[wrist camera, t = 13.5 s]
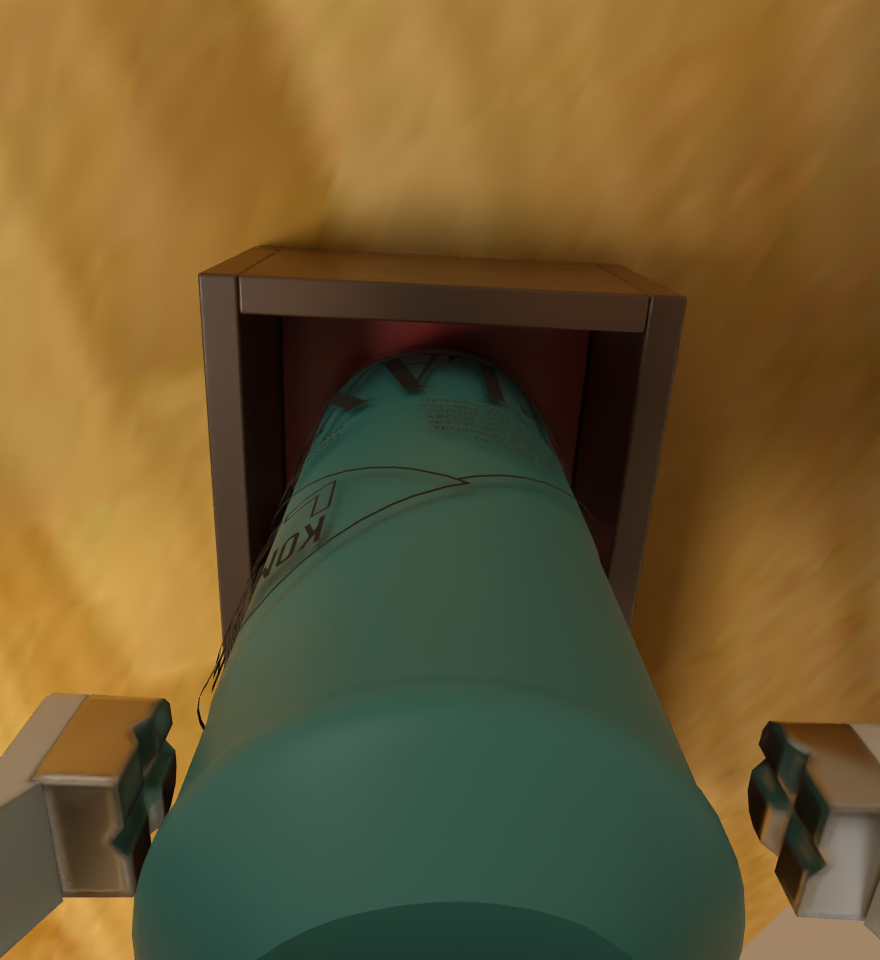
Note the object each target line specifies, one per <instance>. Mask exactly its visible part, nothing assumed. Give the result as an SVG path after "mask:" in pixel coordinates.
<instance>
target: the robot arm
mask: <svg viewBox="0 0 880 960" xmlns="http://www.w3.org/2000/svg"><path fill="white" fill-rule="evenodd" d="M172 724H173V723H172V716H171V709H170V703H169V702H168V701H167V700H165V699H161V698H144V697H127V696H110V695H93V694H92V695H85V694H65V693H54V694H52V695H49V696H47V697H46V698H45V699H44V700H43V701H42V702H41V704H40V705H39V706H38V708H37V709H36V710H35V712H34V713H33V714H32V716H31V717H30V718H29V720H28V721H27V722H26V724H25V725H24V726H23V728H22V729H21V730H20V732H19V733H18V734H17V736H16V737H15V738H14V740H13V741H12V743H11V744H10V745H9V747H8V748H7V749H6V751H5V752H4V753H3V755H2V756H1V757H0V958H1V957H2V956H3V955H4V954H5V953H6V952H8V951H9V950H10V949H11V948H12V947H13V946H14V945H15V944H16V943H17V942H19V941H20V940H21V939H22V938H23V937H24V936H25V935H26V934H27V933H28V932H30V931H31V930H32V929H33V928H34V927H35V926H36V925H37V924H38V923H40V922H41V921H42V920H43V919H44V918H45V917H46V916H47V915H48V914H49V913H51V912H52V911H53V910H54V909H55V908H56V907H57V906H58V905H59V904H60V903H62V902H63V899H62V897H133V896H134V894H135V892H136V888H137V884H138V881H139V877H140V873H141V870H142V866H143V864H144V861H145V859H146V856H147V853H148V851H149V848H150V846H151V839H150V834H151V833H152V832H154V831H155V830H156V829H158V828H159V827H160V825H161V823H162V821H163V819H164V818H165V817H166V815H167V814H168V812H169V809H170V806H171V802H172V798H173V793H174V788H175V784H176V754H175V750H174V749H173V748H172V746H171V745H170V744H169V743H168V742H167V741H166V740H165V739H166V737H167V735H168V733H169V730H170V728H171V726H172ZM759 746H760V748H761V750H762V751H763V753H764V755H765V757H766V759H764V760H763V761H762V762H761V763H760V764H759V765H758V766H756V767H755V768H754V769H753V770H752V773H751V777H750V782H749V787H748V804H749V813H750V817H751V820H752V824H753V827H754V830H755V832H756V834H757V836H758V838H759V840H760V842H761V844H763V845H764V846H765V847H767V848H768V849H769V850H770V851H772V852H773V853H774V854H775V855H777V856H778V857H779V858H778V861H777V865H776V869H775V873H776V875H777V877H778V879H779V881H780V883H781V885H782V887H783V889H784V891H785V894H786V896H787V898H788V900H789V902H790V904H791V906H792V908H793V910H794V912H795V914H796V916H797V917H808V918H825V919H841V920H858V921H859V920H861V921H865V922H864V925H865V926H866V927H867V928H868V929H869V930H871V931H872V932H873V933H874V934H875V935H876V936H877V937H878V938H879V939H880V723H862V722H842V723H841V724H840V723H815V722H783V721H769V722H768V723H767V725H766V726H765V727H764V729H763V731H762V735H761V738H760V742H759Z"/></svg>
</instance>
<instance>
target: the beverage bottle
mask: <svg viewBox="0 0 880 960" xmlns="http://www.w3.org/2000/svg"><path fill="white" fill-rule="evenodd" d="M431 345H439V344H431ZM416 346H420V345H416ZM443 346H450V345H443ZM409 347H413V346H409ZM454 347H456V346H454ZM403 348H407V347H403ZM458 348H461V347H458ZM400 349H402V348H400ZM463 349H465V348H463ZM396 350H398V349H396ZM467 350H470V349H467ZM393 351H395V350H393ZM471 351H473V350H471ZM389 352H391V351H389ZM474 352H475V351H474ZM386 353H388V352H386ZM476 353H478V352H476ZM384 354H385V353H384ZM470 354H471V355H470ZM479 354H481V353H479ZM382 355H383V354H382ZM482 355H483V354H482ZM379 356H381V355H379ZM484 356H486V355H484ZM377 357H378V356H377ZM487 357H488V356H487ZM374 358H376V357H374ZM374 358H372V359H374ZM489 358H490V357H489ZM372 359H371V360H372ZM484 359H485V358H484ZM491 359H492V358H491ZM378 360H379V359H378ZM486 360H487V359H486ZM493 360H494V359H493ZM369 361H370V360H369ZM487 361H488V360H487ZM487 361H485V360H483V357H482V359H481V357H480V358H479V356H478V357H476V355H475V356H474V354H473V355H472V353H469V354H468V353H467V352H466V353H465V352H464V353H463V352H462V351H461V352H460V351H458V350H456V351H455V349H454V350H453V349H452V350H450V349H449V350H448V349H443V348H442V349H441V348H439V349H438V348H437V349H436V348H435V349H434V348H433V349H431V348H430V349H429V348H428V349H426V348H425V349H424V348H423V349H421V348H420V349H418V350H417V349H415V350H414V349H413V350H411V351H409V350H408V351H407V350H406V351H403V352H402V351H401V353H398V354H395V355H391V356H389V355H388V356H386V358H384V359H383V358H380V360H379V361H377V362H376V361H374V363H370V364H371V365H370V366H368V365H366V366H364V367H366V368H363V370H362V371H360V370H361V369H362V368H361V369H359V371H360V372H359V371H358V370H357V371H358V372H359V373H358V374H356V375H355V376H354V377H352V376H353V375H354V374H353V375H351V376H350V377H352V378H351V379H350V380H349V381H348V382H347V383H346V384H345V385H344V386H343V387H341V388H340V389H339V390H340V391H339V390H338V391H337V392H336V393H335V394H334V395H333V396H332V397H331V398H330V400H329V401H328V402H327V404H329V406H328V408H327V409H326V411H325V413H324V415H323V417H322V420H321V422H320V425H319V427H318V429H317V432H316V435H315V437H314V440H313V441H312V445H311V447H310V450H309V453H308V452H307V450H306V453H308V455H307V457H306V458H305V459H303V460H304V461H305V463H304V462H302V454H303V452H302V451H301V452H302V454H301V457H300V459H299V461H298V464H297V466H296V469H295V471H294V473H293V474H292V475H293V476H292V478H291V481H289V482H290V483H288V484H289V485H287V486H288V488H287V489H286V491H285V494H284V495H285V496H283V497H284V500H283V505H282V511H283V506H284V504H285V503H286V502H288V505H287V509H286V512H285V514H284V517H283V519H282V522H281V523H280V525H279V526H278V527H279V528H278V527H277V528H278V529H279V530H277V531H278V532H277V531H276V533H277V535H276V537H275V540H274V539H273V538H274V536H275V534H276V533H275V534H274V532H275V531H274V530H273V533H272V532H271V534H273V535H274V536H273V538H272V535H271V536H270V538H272V540H273V545H272V548H270V545H271V541H272V540H270V538H269V540H270V543H269V545H268V547H269V548H270V550H269V552H270V553H269V555H268V558H267V560H266V563H265V566H264V568H263V565H264V564H263V565H262V566H261V568H260V569H259V572H258V575H257V577H256V580H255V582H254V585H253V588H252V586H251V584H253V579H254V576H255V575H254V576H253V575H252V576H253V578H252V580H251V581H250V580H248V581H247V583H246V584H248V582H249V581H250V583H249V584H250V585H249V584H248V586H249V588H248V590H247V592H246V590H245V591H244V593H243V596H244V597H243V596H242V598H241V600H240V603H238V604H239V606H240V604H241V602H242V600H243V598H244V600H243V602H242V604H243V607H244V602H245V599H246V596H247V594H248V591H249V589H250V586H251V589H252V590H251V592H250V595H251V593H252V592H253V591H254V589H255V587H256V589H255V591H254V594H253V596H252V599H251V602H250V597H249V606H248V609H247V612H246V614H245V617H244V620H243V611H242V625H241V627H240V619H239V631H238V632H237V627H236V623H235V625H234V628H235V629H236V635H235V632H234V638H233V632H232V638H233V639H232V641H233V640H234V645H233V648H232V641H231V642H230V637H229V643H230V644H231V653H230V656H229V646H230V644H229V645H228V647H227V648H226V645H227V642H226V640H225V638H224V640H225V642H226V645H225V647H224V645H223V647H224V650H223V652H222V655H221V657H220V659H219V656H220V655H219V654H218V658H217V661H218V659H219V661H218V663H217V661H216V664H217V665H216V666H217V667H216V666H215V668H216V669H215V668H214V670H215V671H214V670H213V672H214V676H215V674H216V671H217V669H218V674H217V677H216V680H215V682H214V684H213V687H212V691H213V689H214V686H215V684H216V681H217V679H218V676H219V674H220V671H221V669H222V666H223V664H224V662H225V657H224V660H223V662H222V665H221V667H220V661H221V659H222V656H223V654H224V653H225V651H226V650H227V649H228V661H227V663H226V666H224V670H223V673H222V676H221V678H220V681H219V684H218V686H217V689H216V691H215V694H214V696H213V699H212V702H211V706H210V711H209V715H208V719H207V723H206V726H205V725H204V724H203V722H202V720H201V716H200V712H199V701H198V709H197V713H198V718H199V722H200V725H201V727H202V729H203V730H204V731H203V733H202V736H201V739H200V741H199V744H198V746H197V749H196V752H195V754H194V757H193V759H192V762H191V764H190V767H189V770H188V772H187V775H186V777H185V780H184V783H183V785H182V788H181V790H180V793H179V796H178V798H177V801H176V802H175V804H174V805H173V806H172V808H171V809H170V811H169V812H168V814H167V815H166V817H165V818H164V819H163V821H162V823H161V825H160V827H159V829H158V831H157V833H156V836H155V838H154V840H153V842H152V844H151V846H150V848H149V851H148V853H147V856H146V859H145V861H144V864H143V866H142V870H141V873H140V877H139V881H138V884H137V888H136V892H135V897H134V910H133V922H132V939H133V948H134V957H135V960H739V958H740V955H741V952H742V945H743V938H744V930H745V904H744V886H743V882H742V878H741V874H740V869H739V865H738V861H737V858H736V856H735V854H734V851H733V849H732V847H731V844H730V842H729V840H728V837H727V835H726V833H725V831H724V828H723V826H722V824H721V822H720V819H719V817H718V815H717V814H716V812H715V811H714V809H713V808H712V806H711V804H710V803H709V801H708V800H707V798H706V797H705V795H704V794H703V792H702V791H701V790H700V788H699V787H698V786H697V785H696V783H695V780H694V778H693V776H692V773H691V771H690V769H689V767H688V764H687V762H686V760H685V757H684V755H683V753H682V750H681V748H680V746H679V743H678V741H677V739H676V736H675V734H674V732H673V729H672V727H671V725H670V723H669V720H668V718H667V716H666V713H665V711H664V709H663V706H662V704H661V702H660V699H659V697H658V695H657V692H656V690H655V688H654V685H653V683H652V681H651V679H650V676H649V674H648V672H647V669H646V667H645V665H644V662H643V660H642V658H641V655H640V653H639V651H638V648H637V646H636V644H635V641H634V639H633V637H632V634H631V632H630V630H629V628H628V625H627V623H626V621H625V618H624V616H623V614H622V611H621V609H620V607H619V604H618V602H617V600H616V597H615V595H614V593H613V590H612V588H611V586H610V583H609V581H608V579H607V577H606V574H605V572H604V570H603V567H602V563H603V550H604V548H603V549H602V561H601V563H600V559H599V554H598V551H597V548H596V545H595V543H594V540H593V539H594V536H593V538H592V536H591V533H590V531H589V528H588V527H589V526H587V524H586V522H587V521H588V520H587V521H586V522H585V520H586V517H585V520H584V517H583V515H582V511H580V508H579V507H580V506H578V502H579V500H577V499H576V497H574V492H575V490H574V492H572V490H571V488H570V486H571V485H572V484H571V483H570V481H571V480H572V479H570V477H568V476H567V475H566V473H567V469H566V470H565V471H566V472H563V470H562V469H564V468H565V467H564V466H565V465H563V464H562V462H561V461H562V460H563V458H562V460H561V459H560V460H561V461H560V462H561V463H559V458H560V457H561V456H562V455H558V457H557V456H556V455H557V454H556V453H558V451H559V450H557V449H556V453H555V451H554V450H555V447H553V446H552V445H551V442H550V440H549V438H548V436H547V434H548V435H549V436H550V437H551V439H552V440H553V442H555V443H556V445H557V446H558V445H559V444H557V443H558V442H556V440H557V439H556V440H555V438H556V437H555V438H554V436H555V435H554V436H553V434H554V433H553V434H552V432H553V431H552V432H551V430H552V429H550V427H549V426H550V424H549V425H548V423H547V421H546V419H545V416H544V415H545V414H543V412H542V409H543V408H542V409H541V408H540V406H539V405H538V404H537V402H538V401H537V402H536V401H535V400H534V399H533V397H532V396H531V395H530V396H531V397H532V399H533V401H534V403H535V406H536V408H537V410H538V412H539V413H537V411H536V409H535V407H534V405H533V404H532V402H531V400H530V399H529V397H528V396H527V394H526V393H525V392H524V391H523V389H522V388H521V387H520V386H519V385H518V384H517V383H516V382H515V381H514V380H513V379H512V378H511V377H510V376H509V375H508V374H506V373H505V372H503V371H502V370H501V369H499V368H498V367H496V366H495V365H496V364H495V365H493V364H494V363H493V364H491V363H492V362H491V363H489V362H490V361H489V362H487ZM494 361H496V360H494ZM367 362H368V361H367ZM496 362H497V361H496ZM365 363H366V362H365ZM365 363H364V364H365ZM498 363H499V362H498ZM500 364H501V363H500ZM362 365H363V364H362ZM360 366H361V365H360ZM367 366H368V367H367ZM497 366H498V365H497ZM503 366H504V365H503ZM499 367H500V366H499ZM504 367H505V366H504ZM357 368H358V367H357ZM357 368H356V369H357ZM501 368H502V367H501ZM506 368H507V367H506ZM502 369H503V370H504V368H502ZM507 369H508V368H507ZM353 371H354V370H353ZM353 371H352V372H353ZM357 371H356V373H357ZM505 371H506V370H505ZM510 371H511V370H510ZM507 372H508V371H507ZM513 373H514V372H513ZM349 374H350V373H349ZM349 374H348V375H349ZM509 374H510V372H509ZM514 374H515V373H514ZM348 375H347V376H348ZM511 375H512V374H511ZM515 375H516V374H515ZM516 376H517V375H516ZM513 377H514V375H513ZM517 377H518V376H517ZM515 378H516V377H515ZM518 378H519V377H518ZM519 379H520V378H519ZM517 380H518V379H517ZM345 381H346V380H344V381H343V382H342V384H343V383H344V382H345ZM520 383H522V382H520ZM342 384H340V385H342ZM340 385H339V386H340ZM522 385H524V384H522ZM526 386H527V385H526ZM526 386H525V388H527V387H528V386H527V387H526ZM338 388H339V387H338ZM338 388H336V389H335V390H337V389H338ZM527 390H528V389H527ZM332 391H333V390H332ZM531 392H532V391H531ZM333 393H334V391H333ZM333 393H332V394H333ZM329 395H330V394H329ZM330 396H331V395H330ZM534 398H535V397H534ZM326 399H327V398H326ZM326 399H325V400H326ZM328 399H329V398H328ZM535 399H536V400H537V398H535ZM326 401H327V400H326ZM324 404H325V403H324ZM324 404H322V405H324ZM327 404H326V405H327ZM539 404H540V403H539ZM326 405H325V406H326ZM325 406H324V407H325ZM322 407H323V406H322ZM321 411H322V410H321ZM319 412H320V411H319ZM538 414H539V415H540V417H541V419H542V421H543V424H544V426H545V428H546V430H547V432H546V431H545V429H544V426H543V424H542V422H541V420H540V417H539V415H538ZM318 422H319V420H318V421H317V422H316V423H315V427H316V425H317V424H318ZM313 427H314V426H313ZM315 427H314V428H315ZM313 430H314V429H313ZM310 432H312V431H311V430H310ZM311 435H312V434H311V433H310V434H309V436H308V440H307V441H309V439H310V437H311ZM307 443H308V442H307ZM305 444H306V442H305ZM305 444H304V445H305ZM558 447H560V446H558ZM304 448H305V446H304ZM559 449H561V448H559ZM302 450H304V449H302ZM304 451H305V450H304ZM561 451H562V450H561ZM304 454H305V453H304ZM562 454H563V452H562ZM563 455H564V454H563ZM559 456H560V457H559ZM304 457H305V456H304ZM304 457H303V458H304ZM564 458H565V457H564ZM565 461H566V459H565ZM565 461H564V462H565ZM301 462H302V463H303V466H302V467H303V468H302V467H301V468H302V470H301V472H300V473H299V474H300V476H299V474H298V476H299V478H298V476H297V477H296V479H297V478H298V481H297V483H296V486H295V488H293V489H292V488H291V486H292V487H293V482H294V481H295V480H296V479H295V476H296V475H297V471H298V469H299V466H300V465H302V463H301ZM564 462H563V463H564ZM566 462H567V461H566ZM564 464H565V463H564ZM567 464H568V463H567ZM568 466H569V465H568ZM566 467H567V466H566ZM301 468H300V469H301ZM567 468H568V467H567ZM569 468H570V467H569ZM569 468H568V469H569ZM300 469H299V471H300ZM570 470H571V469H570ZM570 470H569V471H570ZM569 471H568V472H569ZM571 473H572V472H571ZM565 475H566V476H567V477H568V478H569V479H570V481H569V480H568V479H567V478H566V476H565ZM568 475H569V474H568ZM572 475H573V474H572ZM573 477H574V476H573ZM574 479H575V478H574ZM567 480H568V481H569V483H570V486H569V483H568V481H567ZM575 481H576V480H575ZM571 482H572V481H571ZM576 483H577V482H576ZM572 486H573V487H574V484H573V485H572ZM577 486H578V484H577ZM573 487H572V488H573ZM578 488H579V487H578ZM290 489H291V492H290V496H289V499H288V500H287V501H286V498H287V496H288V494H289V491H290ZM574 489H575V488H574ZM579 490H580V489H579ZM580 492H581V491H580ZM581 494H582V493H581ZM582 496H583V495H582ZM583 498H584V497H583ZM282 499H283V498H282ZM579 499H580V498H579ZM576 500H577V501H578V502H577V501H576ZM281 501H282V500H281ZM285 501H286V502H285ZM584 501H585V499H584ZM579 503H580V504H579V505H582V504H581V500H580V502H579ZM585 503H586V502H585ZM586 505H587V504H586ZM279 506H280V504H279ZM582 506H583V505H582ZM583 507H584V508H585V509H586V510H587V508H586V507H585V506H583ZM587 507H588V506H587ZM280 509H281V508H280ZM280 509H278V510H280ZM588 509H589V508H588ZM581 510H582V508H581ZM587 511H588V510H587ZM589 511H590V510H589ZM589 511H588V512H589ZM278 512H279V511H277V514H278ZM589 513H591V512H589ZM586 515H587V514H586ZM590 515H591V516H592V514H590ZM276 516H277V515H275V517H276ZM275 517H274V519H275ZM281 517H282V515H281ZM276 518H277V517H276ZM592 518H593V517H592ZM274 519H273V520H274ZM587 519H588V518H587ZM590 520H591V519H590ZM593 520H594V518H593ZM274 521H275V520H274ZM594 522H596V521H595V520H594ZM273 523H274V522H273V521H272V524H273ZM275 523H276V521H275ZM591 524H592V522H591ZM595 524H596V523H595ZM274 525H276V524H274ZM271 526H272V527H273V525H271ZM596 526H597V525H596ZM591 527H592V526H591ZM274 528H275V527H274ZM277 528H276V529H277ZM597 528H598V527H597ZM269 529H271V528H269ZM272 529H273V528H272ZM271 531H272V530H271ZM598 531H599V529H598ZM599 533H600V532H599ZM592 534H593V528H592ZM600 535H601V534H600ZM269 540H268V541H269ZM601 540H602V536H601ZM267 543H268V542H267ZM266 545H267V544H266ZM602 545H603V542H602ZM262 546H263V545H262ZM268 547H267V548H268ZM264 548H265V547H264ZM263 550H264V549H263ZM263 550H262V551H263ZM266 550H267V549H266ZM266 550H265V552H266ZM265 552H264V554H265ZM260 553H263V552H260ZM264 554H263V555H264ZM261 555H262V554H261ZM259 556H260V555H259ZM260 557H261V556H260ZM260 557H258V558H257V559H260ZM262 557H263V556H262ZM262 557H261V559H262ZM261 559H260V561H261ZM256 561H257V562H256V563H258V561H259V560H256ZM260 561H259V562H260ZM254 566H255V564H254ZM256 566H257V564H256ZM256 566H255V567H256ZM262 568H263V571H262V573H261V570H262ZM254 569H256V568H253V570H252V573H253V571H254ZM260 573H261V575H260ZM253 574H255V571H254V573H253ZM259 575H260V577H259ZM249 578H250V577H249ZM258 578H259V579H258ZM250 579H251V578H250ZM256 585H257V586H256ZM248 586H247V587H248ZM245 587H246V586H245ZM246 589H247V588H246ZM245 593H246V594H245ZM244 594H245V595H244ZM250 595H249V596H250ZM242 604H241V606H242ZM239 606H238V608H237V610H235V611H236V612H235V615H233V616H236V614H237V612H238V611H239V609H240V607H241V606H240V607H239ZM239 616H241V611H240V613H239V615H238V618H239ZM232 618H233V617H232ZM234 618H235V617H234ZM233 621H234V620H233ZM231 622H232V620H231ZM232 624H233V622H232ZM237 625H238V619H237ZM230 626H231V623H230V624H229V628H228V629H227V632H228V633H229V631H228V630H230ZM231 627H232V626H231ZM234 628H233V631H234ZM230 634H231V630H230ZM237 634H238V635H237ZM226 635H227V633H226ZM226 635H225V636H224V637H226ZM227 636H228V635H227ZM235 637H236V640H235ZM226 639H227V637H226ZM224 640H223V642H224ZM225 642H224V644H225ZM222 644H223V643H222ZM221 647H222V645H221ZM220 650H221V648H220ZM219 653H221V652H220V651H219ZM213 672H212V674H213ZM212 674H211V676H212ZM211 676H210V677H209V679H210V678H211ZM214 676H213V679H214ZM209 679H208V681H209ZM208 681H207V683H208ZM207 683H206V684H205V686H204V688H205V687H206V685H207ZM204 688H203V690H204ZM203 690H202V692H203ZM202 692H201V694H202ZM201 694H200V696H201ZM199 700H200V697H199Z"/></svg>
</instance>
